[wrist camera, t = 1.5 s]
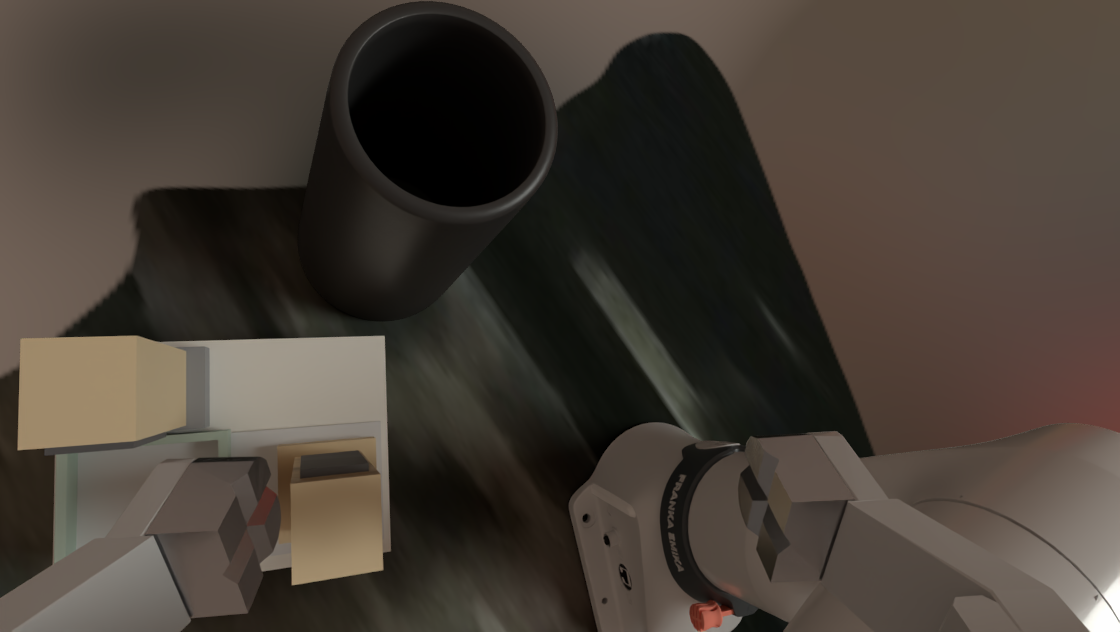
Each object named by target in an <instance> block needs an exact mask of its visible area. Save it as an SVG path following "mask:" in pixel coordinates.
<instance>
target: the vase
mask: <svg viewBox="0 0 1120 632" xmlns="http://www.w3.org/2000/svg"><path fill="white" fill-rule="evenodd" d="M557 134H558V125H557V114H556V108H555V104H554V99H553V96H552V93H551V90H550V87H549V85H548V83H547V80H546V78H545V76H544V74H543V73H542V71H541V69H540V67H539V66H538V64H537V63H536V61H535V60H534V58H533V57H532V56H531V54H530V53H529V52H528V51H527V49H526V48H525V47H524V46H523V45H522V44H521V43H520V42H519V41H518V40H517V39H516V38H515V37H514V36H513V35H512V34H510V33H509V32H508V31H507V30H505V28H503V27H502V26H500V25H499V24H497V23H496V22H494V21H492V20H491V19H489V18H487V17H486V16H484V15H482V14H479V13H477V12H475V11H472V10H470V9H467V8H465V7H461V6H457V5H453V4H449V3H443V2H433V1H419V2H410V3H405V4H400V5H396V6H393V7H390V8H388V9H386V10H383V11H381V12H379V13H377V14H375V15H374V16H372V17H370V18H369V19H368V20H366V21H365V22H364V23H362V24H361V25H360V26H359V27H358V28H357V29H356V30H355V31H354V32H353V33H352V34H351V35H350V37H349V38H348V39H347V40H346V42H345V44H344V45H343V47H342V48H341V50H340V52H339V54H338V56H337V58H336V61H335V63H334V66H333V69H332V74H331V78H330V81H329V84H328V88H327V93H326V98H325V102H324V108H323V112H322V117H321V121H320V127H319V131H318V136H317V140H316V146H315V150H314V155H313V160H312V165H311V169H310V174H309V179H308V184H307V188H306V193H305V198H304V203H303V207H302V212H301V217H300V222H299V229H298V251H299V256H300V261H301V264H302V267H303V269H304V272H305V274H306V276H307V278H308V279H309V281H310V283H311V284H312V285H313V287H314V288H315V290H316V291H317V292H318V293H319V294H320V295H321V296H322V297H323V298H324V299H325V300H326V301H327V302H329V303H330V304H331V305H333V306H334V307H336V308H337V309H339V310H341V311H343V312H345V313H347V314H349V315H352V316H354V317H358V318H361V319H366V320H372V321H392V320H398V319H403V318H406V317H410V316H412V315H414V314H417V313H419V312H421V311H422V310H424V309H426V308H427V307H429V306H430V305H431V304H432V303H434V302H435V301H436V300H437V299H438V298H439V297H440V296H441V295H442V294H443V293H444V292H445V291H446V290H447V289H448V288H449V287H450V286H451V285H452V284H453V282H454V281H455V280H456V279H457V278H458V277H459V276H460V275H461V274H462V273H463V272H464V271H465V269H466V268H467V267H468V266H469V265H470V264H471V263H472V262H473V261H474V260H475V258H476V257H477V256H478V255H479V254H480V253H481V252H482V251H483V250H484V249H485V248H486V247H487V245H488V244H489V243H490V242H491V241H492V240H493V239H494V238H495V237H496V236H497V234H498V233H499V232H500V231H501V230H502V229H503V228H504V227H505V226H506V225H507V224H508V222H509V221H510V220H511V219H512V218H513V217H514V216H515V215H516V214H517V213H518V212H519V211H520V209H521V208H522V207H523V206H524V205H525V204H526V203H527V202H528V200H529V199H530V198H531V197H532V195H533V194H534V193H535V192H536V191H537V189H538V188H539V187H540V186H541V184H542V182H543V181H544V179H545V178H546V176H547V173H548V171H549V169H550V167H551V164H552V161H553V158H554V154H555V150H556V144H557Z"/></svg>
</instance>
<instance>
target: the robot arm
mask: <svg viewBox="0 0 1120 632" xmlns="http://www.w3.org/2000/svg"><path fill="white" fill-rule="evenodd" d="M270 476H271V472H270V469H269V466H268V463H267V460H266V459H264V458H262V457H208V458H198V459H196V458H188V459H166V460H164V461H162V462H160V463H159V464H157V466H156V467H155V468H154V470H153V471H152V472H151V474H150V475H149V477H148V478H147V480H146V481H145V482H144V484H143V485H142V487H141V488H140V489H139V491H138V492H137V494H136V495H135V496H134V498H133V499H132V501H131V502H130V503H129V505H128V506H127V508H126V509H125V510H124V512H123V513H122V515H121V516H120V517H119V519H118V520H117V522H116V523H115V524H114V526H113V527H112V529H111V530H110V531H109V533H108V534H107V536H106V537H105V538H95V539H93V540H91V541H90V542H88V543H87V544H85V545H83V546H82V547H80V548H79V549H77V550H75V551H74V552H72V553H71V554H69V555H68V556H66V557H64V558H63V559H61V560H60V561H58V562H56V563H55V564H53V565H52V566H50V567H49V568H47V569H45V570H44V571H42V572H41V573H39V574H38V575H36V576H34V577H33V578H31V579H30V580H28V581H26V582H25V583H23V584H22V585H20V586H19V587H17V588H15V589H14V590H12V591H11V592H9V593H7V594H6V595H4V596H3V597H1V598H0V632H181V631H182V630H183V629H184V628H185V627H186V626H187V625H188V624H189V623H190V622H191V619H190V618H199V617H210V616H222V615H233V614H245V613H249V610H250V608H251V605H252V603H253V600H254V598H255V595H256V593H257V591H258V588H259V586H260V583H261V581H262V578H263V573H262V570H261V567H260V563H261V562H262V561H263V560H264V559H266V558H267V557H268V556H269V555H270V554H272V553H273V551H274V548H275V545H276V543H277V540H278V537H279V531H280V524H281V509H280V503H279V499H278V496H277V494H276V493H275V492H273V491H272V490H271V489H269V488H268V487H267V486H266V485H267V483H268V481H269V479H270ZM569 512H570V516H571V521H572V525H573V529H574V533H575V537H576V542H577V546H578V550H579V554H580V558H581V563H582V567H583V571H584V575H585V580H586V584H587V588H588V592H589V596H590V601H591V605H592V609H593V613H594V617H595V622H596V626H597V630H598V632H730V631H732V630H733V629H734V628H735V627H736V626H737V625H738V624H739V622H740V621H741V619H742V616H746V615H750V614H753V613H754V612H756V610H757V609H758V608H760V609H762V610H764V611H766V612H768V613H770V614H772V615H774V616H777V617H779V618H780V619H782V620H784V621H786V622H789V624H788V626H787V627H786V628H785V630H784V631H783V632H1120V433H1117V432H1115V431H1111V430H1108V429H1104V428H1101V427H1097V426H1092V425H1085V424H1076V423H1061V424H1052V425H1048V426H1043V427H1040V428H1037V429H1033V430H1030V431H1026V432H1023V433H1020V434H1017V435H1013V436H1009V437H1006V438H1002V439H997V440H993V441H989V442H984V443H978V444H973V445H966V446H959V447H952V448H943V449H934V450H925V451H916V452H907V453H899V454H891V455H882V456H873V457H865V458H858V456H857V455H856V454H855V452H854V451H853V449H852V448H851V447H850V445H849V444H848V443H847V441H846V440H845V438H844V437H843V436H842V435H841V434H839V433H838V432H836V431H832V432H815V433H807V434H787V435H766V436H751V437H750V438H749V440H748V442H747V444H746V446H742V445H740V444H738V443H731V442H722V441H700V440H698V439H696V438H694V437H692V436H690V435H689V434H688V433H687V432H685V431H684V430H682V429H680V428H678V427H676V426H673V425H670V424H666V423H657V422H654V423H645V424H641V425H638V426H635V427H633V428H631V429H629V430H627V431H626V432H624V433H623V434H621V435H620V436H619V437H617V438H616V439H615V440H614V441H613V442H612V443H611V444H610V446H609V447H608V448H607V449H606V451H605V452H604V454H603V455H602V457H601V459H600V461H599V463H598V465H597V467H596V469H595V471H594V473H593V474H592V476H591V477H590V479H589V480H588V481H587V482H586V483H584V484H583V485H582V486H581V487H580V488H579V489H578V490H577V491H576V492H575V493H574V494H573V496H572V497H571V499H570V501H569ZM584 514H587V516H588V518H587V520H586V521H584V522H583V520H582V518H583V515H584ZM602 599H603V600H602Z"/></svg>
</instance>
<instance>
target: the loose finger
mask: <svg viewBox="0 0 1120 632" xmlns="http://www.w3.org/2000/svg"><path fill="white" fill-rule="evenodd" d="M277 457H278V499H279V503H280V509H281V524H280V531H279V544H284V543H291V557H292V585H297V584H303V583H309V582H315V581H321V580H327V579H333V578H339V577H345V576H351V575H357V574H363V573H369V572H375V571H381V570H383V543H382V507H381V474H380V473H379V472H378V471H377V465H376V438H375V437H374V436H373V437H362V438H350V439H339V440H327V441H316V442H304V443H293V444H281V445H278V446H277Z"/></svg>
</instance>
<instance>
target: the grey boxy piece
mask: <svg viewBox="0 0 1120 632" xmlns="http://www.w3.org/2000/svg"><path fill="white" fill-rule="evenodd" d="M373 436H374V437H375V438H376V465H377V471H378V472H379V473H380V474H381V507H382V543H383V552H390V551H391V537H390V503H389V468H388V434H387V400H386V366H385V336H360V337H323V338H287V339H250V340H213V341H176V342H155V341H152V340H149V339H146V338H142V337H139V336H105V337H63V338H23V339H22V338H21V340H20V377H19V416H18V450H29V449H42V448H44V456H47V455H55V474H54V524H53V564H55V563H56V562H58V561H60V560H61V559H63V558H64V557H66V556H68V555H69V554H71V553H72V552H74V551H75V550H77V549H79V548H80V547H82V546H83V545H85V544H87V543H88V542H90V541H91V540H93V539H95V538H105V537H106V536H107V534H108V533H109V531H110V530H111V529H112V527H113V526H114V524H115V523H116V522H117V520H118V519H119V517H120V516H121V515H122V513H123V512H124V510H125V509H126V508H127V506H128V505H129V503H130V502H131V501H132V499H133V498H134V496H135V495H136V494H137V492H138V491H139V489H140V488H141V487H142V485H143V484H144V482H145V481H146V480H147V478H148V477H149V475H150V474H151V472H152V471H153V470H154V468H155V467H156V466H157V464H159V463H160V462H162V461H164V460H166V459H188V458H196V459H198V458H208V457H262V458H264V459H266V460H267V463H268V466H269V469H270V472H271V476H270V479H269V481H268V483H267V485H266V486H267V487H268V488H269V489H271V490H272V491H273V492H275V493H276V494H277V496H278V457H277V446H278V445H281V444H293V443H304V442H316V441H327V440H339V439H350V438H362V437H373ZM260 567H261V570H262V572H263V571H269V570H275V569H282V568H288V567H292V557H291V543H284V544H279V537H278V540H277V543H276V545H275V548H274V551H273V553H272V554H270V555H269V556H268V557H267V558H266V559H264V560H263V561H262V562H261V563H260Z"/></svg>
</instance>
